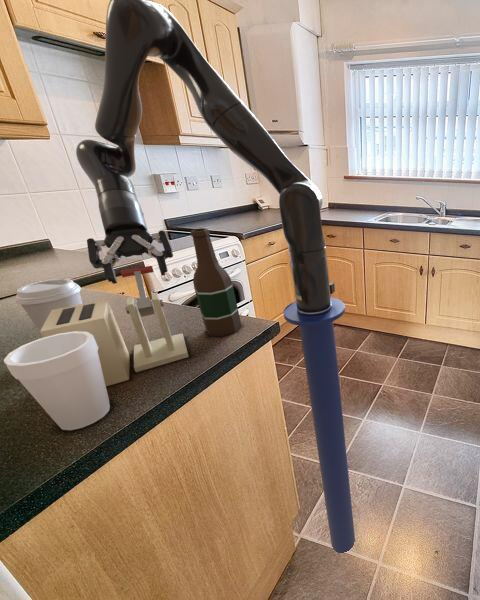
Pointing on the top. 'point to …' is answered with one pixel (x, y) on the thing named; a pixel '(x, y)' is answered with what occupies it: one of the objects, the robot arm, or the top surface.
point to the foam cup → (63, 377)
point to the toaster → (94, 335)
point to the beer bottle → (213, 288)
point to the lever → (141, 289)
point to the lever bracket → (158, 349)
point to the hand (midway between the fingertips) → (139, 277)
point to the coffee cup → (47, 298)
